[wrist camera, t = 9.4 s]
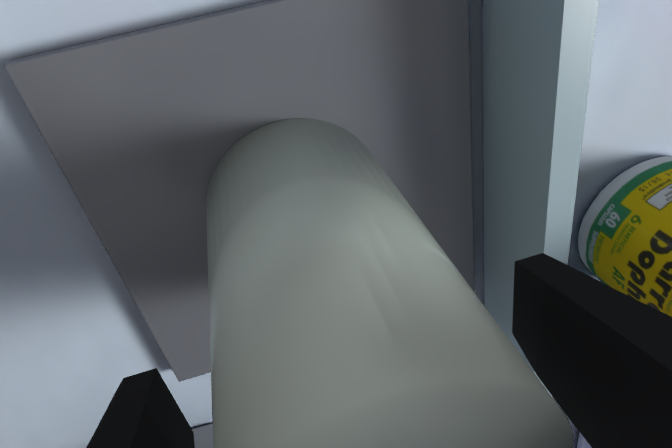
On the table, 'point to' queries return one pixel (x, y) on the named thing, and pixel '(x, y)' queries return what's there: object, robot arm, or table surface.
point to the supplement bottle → (633, 234)
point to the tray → (531, 135)
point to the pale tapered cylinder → (349, 312)
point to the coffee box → (203, 436)
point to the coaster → (249, 128)
